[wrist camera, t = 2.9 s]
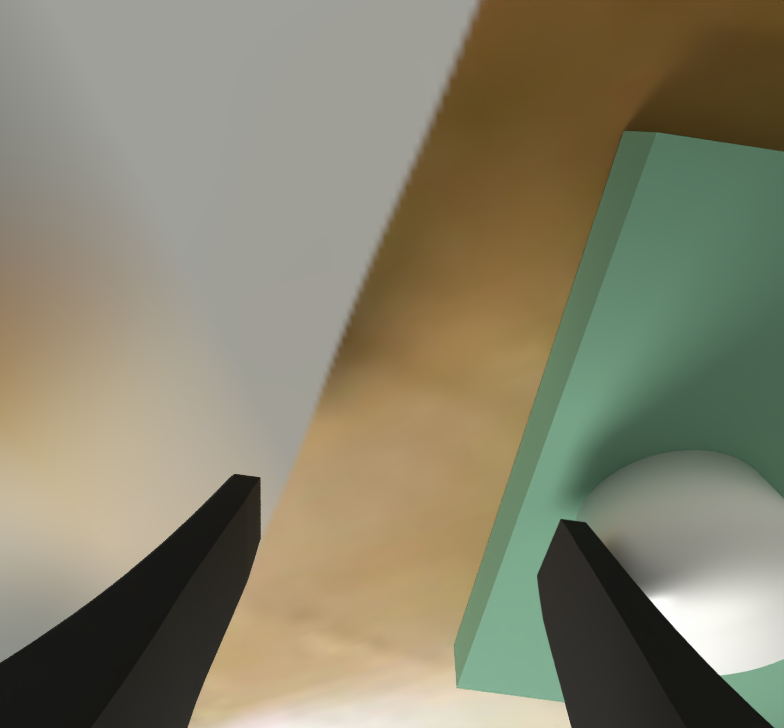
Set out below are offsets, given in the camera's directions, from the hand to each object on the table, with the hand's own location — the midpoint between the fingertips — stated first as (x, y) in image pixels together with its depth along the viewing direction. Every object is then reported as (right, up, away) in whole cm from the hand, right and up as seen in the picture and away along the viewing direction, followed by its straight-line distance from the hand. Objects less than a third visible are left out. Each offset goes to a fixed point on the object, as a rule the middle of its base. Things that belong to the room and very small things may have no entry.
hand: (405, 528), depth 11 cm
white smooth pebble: (+7, 0, +1) cm, 7 cm away
